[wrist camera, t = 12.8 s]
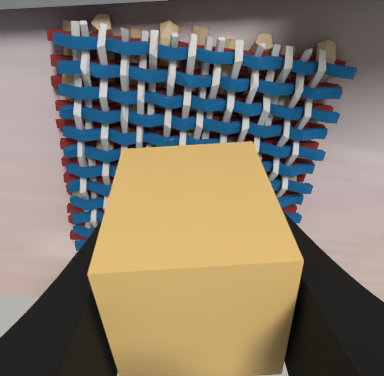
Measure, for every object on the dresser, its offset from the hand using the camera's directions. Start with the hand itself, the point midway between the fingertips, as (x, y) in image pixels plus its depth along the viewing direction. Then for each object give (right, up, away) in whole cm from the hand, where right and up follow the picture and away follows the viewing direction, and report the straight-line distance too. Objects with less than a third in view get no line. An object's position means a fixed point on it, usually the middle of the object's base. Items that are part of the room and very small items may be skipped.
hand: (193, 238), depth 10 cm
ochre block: (0, +1, +1) cm, 2 cm away
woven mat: (0, +3, +5) cm, 6 cm away
